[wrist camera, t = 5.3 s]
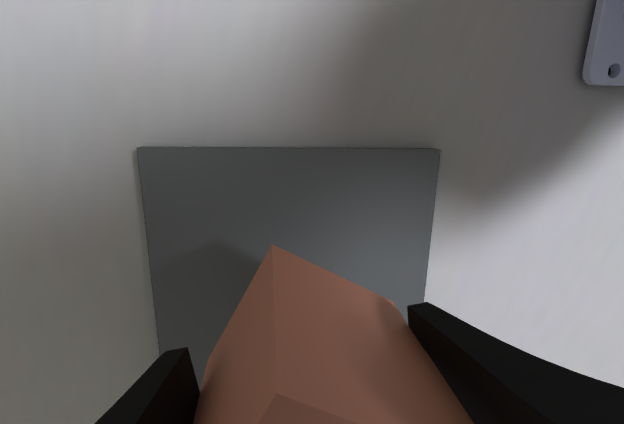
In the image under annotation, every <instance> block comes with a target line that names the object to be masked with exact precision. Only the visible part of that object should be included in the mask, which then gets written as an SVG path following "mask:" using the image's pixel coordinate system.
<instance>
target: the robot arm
mask: <svg viewBox="0 0 624 424" xmlns="http://www.w3.org/2000/svg"><path fill="white" fill-rule="evenodd" d="M609 67H610V68H611V73H610V75H608V69H609ZM582 77H583V79H584V81H585V82H586V83H587V84H589V85H604V86H624V0H597V2H596V7H595V12H594V17H593V22H592V27H591V32H590V37H589V42H588V47H587V52H586V56H585V61H584V66H583V73H582ZM407 312H408V326H409V328H410V329H411V331H412V332H413V334H414V335H415V337H416V338H417V340H418V341H419V343H420V344H421V346H422V347H423V349H424V350H425V351H426V352H427V354H428V355H429V357H430V358H431V360H432V361H433V363H434V364H435V366H436V367H437V369H438V370H439V372H440V373H441V375H442V376H443V378H444V379H445V381H446V382H447V384H448V385H449V387H450V388H451V390H452V391H453V393H454V394H455V396H456V397H457V399H458V400H459V402H460V403H461V405H462V406H463V408H464V409H465V411H466V412H467V414H468V415H469V417H470V418H471V420H472V421H473V423H474V424H624V388H622V387H619V386H616V385H613V384H610V383H606V382H603V381H600V380H597V379H594V378H591V377H588V376H585V375H582V374H579V373H577V372H574V371H571V370H569V369H566V368H564V367H561V366H558V365H556V364H553V363H551V362H548V361H545V360H543V359H541V358H538V357H536V356H533V355H531V354H529V353H527V352H524V351H522V350H520V349H518V348H516V347H513V346H511V345H509V344H507V343H505V342H503V341H501V340H499V339H497V338H495V337H493V336H491V335H489V334H487V333H485V332H483V331H481V330H479V329H477V328H475V327H473V326H471V325H469V324H468V323H466V322H464V321H462V320H460V319H458V318H457V317H455V316H453V315H451V314H449V313H447V312H446V311H444V310H442V309H440V308H438V307H436V306H434V305H432V304H430V303H428V302H424V303H419V304H413V305H408V306H407ZM199 395H200V391H199V387H198V383H197V379H196V376H195V372H194V368H193V365H192V361H191V357H190V354H189V350H188V347H184V348H179V349H174V350H169V351H165V352H164V353H163V354H162V355H161V356H160V357H159V358H158V359H157V360H156V361H155V362H154V363H153V364H152V365H151V366H150V367H149V368H148V370H147V371H146V372H145V373H144V374H143V375H142V376H141V377H140V378H139V379H138V380H137V381H136V382H135V383H134V384H133V385H132V386H131V387H130V388H129V390H128V391H127V392H126V393H125V394H124V395H123V396H122V397H121V398H120V399H119V400H118V401H117V402H116V403H115V404H114V405H113V406H112V407H111V408H110V409H109V410H108V411H107V412H106V413H105V414H104V415H103V416H102V417H101V418H100V419H99V420H98V421H97V422H96V423H95V424H193V420H194V416H195V412H196V408H197V404H198V400H199Z"/></svg>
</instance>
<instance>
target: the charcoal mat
mask: <svg viewBox="0 0 624 424" xmlns="http://www.w3.org/2000/svg"><path fill="white" fill-rule="evenodd" d="M137 155H138V164H139V173H140V182H141V191H142V200H143V209H144V218H145V227H146V236H147V245H148V254H149V263H150V272H151V281H152V290H153V299H154V308H155V317H156V326H157V335H158V344H159V353H160V356H161V355H162V354H163V353H164V352H165V351H169V350H174V349H179V348H184V347H188V350H189V354H190V357H191V361H192V365H193V368H194V372H195V376H196V379H197V383H198V387H199V391H200V390H201V386H202V381H203V377H204V373H205V369H206V365H207V361H208V359H209V357H210V355H211V353H212V351H213V350H214V348H215V346H216V344H217V342H218V341H219V339H220V337H221V335H222V333H223V332H224V330H225V328H226V326H227V324H228V323H229V321H230V319H231V317H232V315H233V314H234V312H235V310H236V308H237V306H238V304H239V303H240V301H241V299H242V297H243V295H244V294H245V292H246V290H247V288H248V286H249V285H250V283H251V281H252V279H253V277H254V276H255V274H256V272H257V270H258V268H259V267H260V265H261V263H262V261H263V259H264V258H265V256H266V254H267V252H268V250H269V248H270V247H271V245H272V244H273V245H275V246H277V247H279V248H281V249H283V250H285V251H288V252H290V253H292V254H294V255H296V256H298V257H300V258H302V259H304V260H307V261H309V262H311V263H313V264H315V265H317V266H319V267H321V268H323V269H326V270H328V271H330V272H332V273H334V274H336V275H338V276H340V277H343V278H345V279H347V280H349V281H351V282H353V283H355V284H357V285H359V286H362V287H364V288H366V289H368V290H370V291H372V292H374V293H376V294H378V295H381V296H383V297H385V298H387V299H389V300H391V301H393V302H394V304H395V305H396V307H397V308H398V310H399V311H400V313H401V315H402V316H403V318H404V319H405V321H406V322H407V324H408V312H407V306H408V305H413V304H419V303H424V295H425V286H426V277H427V268H428V259H429V250H430V241H431V232H432V222H433V213H434V204H435V195H436V186H437V177H438V168H439V159H440V150H439V149H420V148H274V147H138V148H137Z"/></svg>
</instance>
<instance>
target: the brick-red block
mask: <svg viewBox="0 0 624 424" xmlns="http://www.w3.org/2000/svg"><path fill="white" fill-rule="evenodd" d="M193 424H474V423H473V421H472V420H471V418H470V417H469V415H468V414H467V412H466V411H465V409H464V408H463V406H462V405H461V403H460V402H459V400H458V399H457V397H456V396H455V394H454V393H453V391H452V390H451V388H450V387H449V385H448V384H447V382H446V381H445V379H444V378H443V376H442V375H441V373H440V372H439V370H438V369H437V367H436V366H435V364H434V363H433V361H432V360H431V358H430V357H429V355H428V354H427V352H426V351H425V350H424V349H423V347H422V346H421V344H420V343H419V341H418V340H417V338H416V337H415V335H414V334H413V332H412V331H411V329H410V328H409V326H408V324H407V322H406V321H405V319H404V318H403V316H402V315H401V313H400V311H399V310H398V308H397V307H396V305H395V304H394V302H393V301H391V300H389V299H387V298H385V297H383V296H381V295H378V294H376V293H374V292H372V291H370V290H368V289H366V288H364V287H362V286H359V285H357V284H355V283H353V282H351V281H349V280H347V279H345V278H343V277H340V276H338V275H336V274H334V273H332V272H330V271H328V270H326V269H323V268H321V267H319V266H317V265H315V264H313V263H311V262H309V261H307V260H304V259H302V258H300V257H298V256H296V255H294V254H292V253H290V252H288V251H285V250H283V249H281V248H279V247H277V246H275V245H273V244H272V245H271V247H270V248H269V250H268V252H267V254H266V256H265V258H264V259H263V261H262V263H261V265H260V267H259V268H258V270H257V272H256V274H255V276H254V277H253V279H252V281H251V283H250V285H249V286H248V288H247V290H246V292H245V294H244V295H243V297H242V299H241V301H240V303H239V304H238V306H237V308H236V310H235V312H234V314H233V315H232V317H231V319H230V321H229V323H228V324H227V326H226V328H225V330H224V332H223V333H222V335H221V337H220V339H219V341H218V342H217V344H216V346H215V348H214V350H213V351H212V353H211V355H210V357H209V359H208V361H207V365H206V369H205V373H204V377H203V381H202V386H201V390H200V395H199V400H198V404H197V408H196V412H195V416H194V420H193Z"/></svg>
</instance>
